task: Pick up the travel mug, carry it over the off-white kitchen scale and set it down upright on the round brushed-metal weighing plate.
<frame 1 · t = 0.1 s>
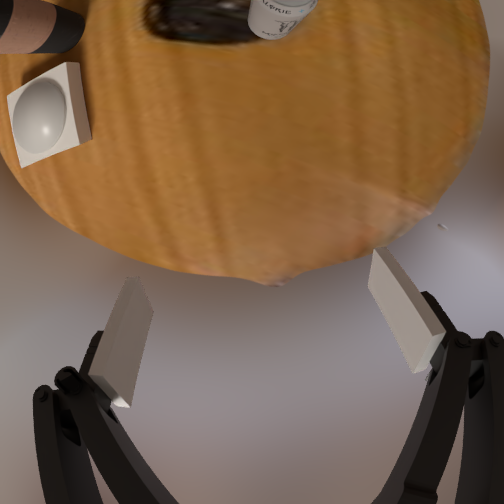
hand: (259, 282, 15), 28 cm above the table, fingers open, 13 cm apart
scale: (52, 113, 31), on the table
energy drink can: (269, 22, 28), on the table
travel mug: (66, 33, 25), on the table
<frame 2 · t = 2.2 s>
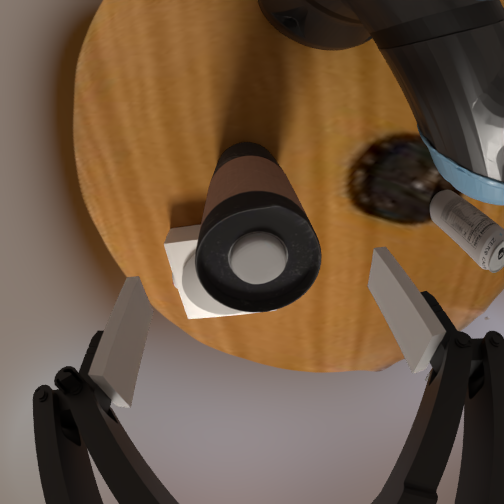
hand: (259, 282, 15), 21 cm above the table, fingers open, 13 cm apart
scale: (225, 263, 40), on the table
energy drink can: (440, 204, 37), on the table
travel mug: (246, 169, 33), on the table
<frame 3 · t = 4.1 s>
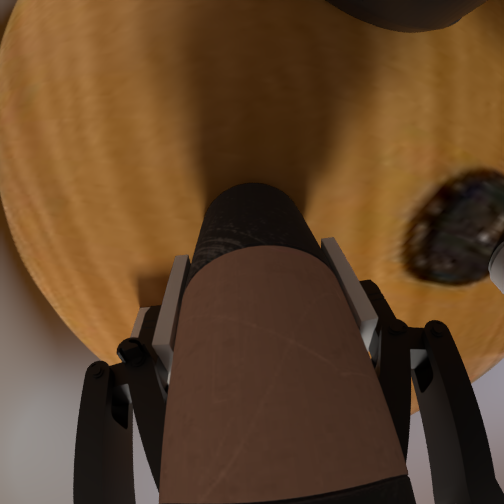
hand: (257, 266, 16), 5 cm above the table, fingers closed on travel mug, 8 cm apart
energy drink can: (499, 256, 24), on the table
travel mug: (252, 227, 21), on the table, touching gripper
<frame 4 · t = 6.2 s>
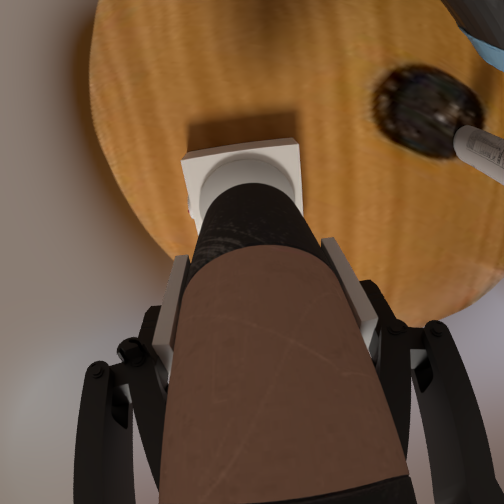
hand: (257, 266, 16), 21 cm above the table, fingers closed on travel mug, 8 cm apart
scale: (246, 192, 36), on the table
energy drink can: (463, 141, 32), on the table
travel mug: (252, 227, 21), point 16 cm above the table, touching gripper
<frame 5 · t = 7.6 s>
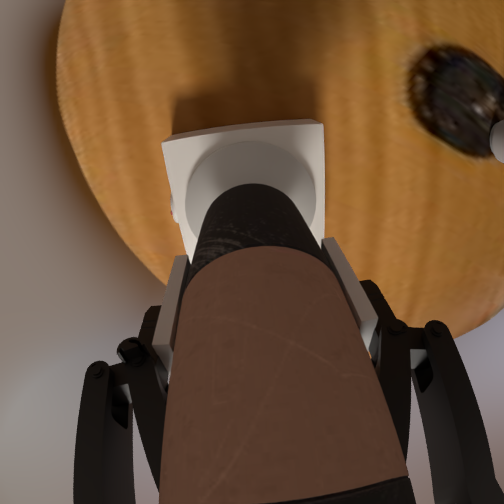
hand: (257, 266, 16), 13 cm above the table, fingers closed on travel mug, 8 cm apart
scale: (248, 188, 27), on the table
energy drink can: (498, 138, 24), on the table
travel mug: (252, 227, 21), point 8 cm above the table, touching gripper
when the fingers open (11 cm above the table, at t = 8.4 s): travel mug drops 1 cm, resting on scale.
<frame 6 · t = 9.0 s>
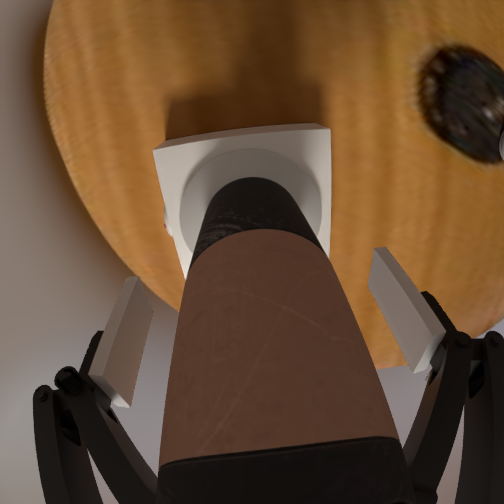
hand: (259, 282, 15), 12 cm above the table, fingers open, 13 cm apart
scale: (248, 198, 25), on the table
travel mug: (252, 219, 22), point 5 cm above the table, touching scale
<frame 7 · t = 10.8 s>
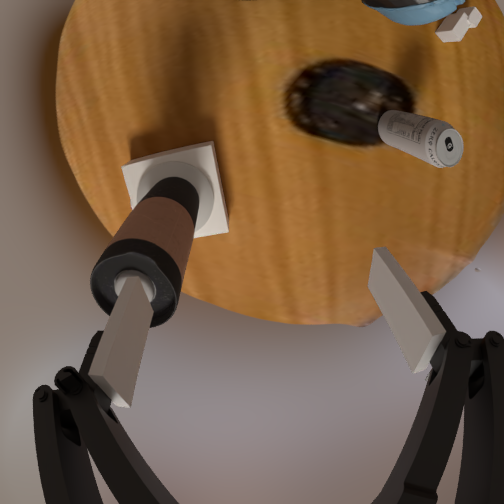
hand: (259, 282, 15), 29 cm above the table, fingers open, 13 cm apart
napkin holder: (451, 25, 27), on the table
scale: (179, 190, 41), on the table
energy drink can: (390, 126, 38), on the table
travel mug: (174, 200, 37), point 5 cm above the table, touching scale
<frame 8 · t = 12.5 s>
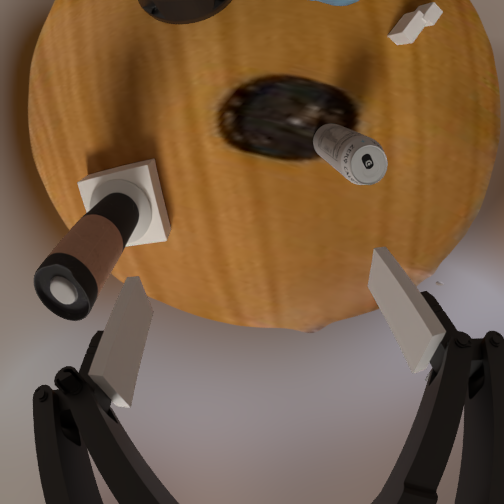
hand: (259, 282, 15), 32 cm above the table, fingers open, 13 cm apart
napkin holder: (409, 25, 30), on the table
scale: (128, 201, 45), on the table
energy drink can: (329, 140, 41), on the table
travel mug: (119, 212, 41), point 5 cm above the table, touching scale
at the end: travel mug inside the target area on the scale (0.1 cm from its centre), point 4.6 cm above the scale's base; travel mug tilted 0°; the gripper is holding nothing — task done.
